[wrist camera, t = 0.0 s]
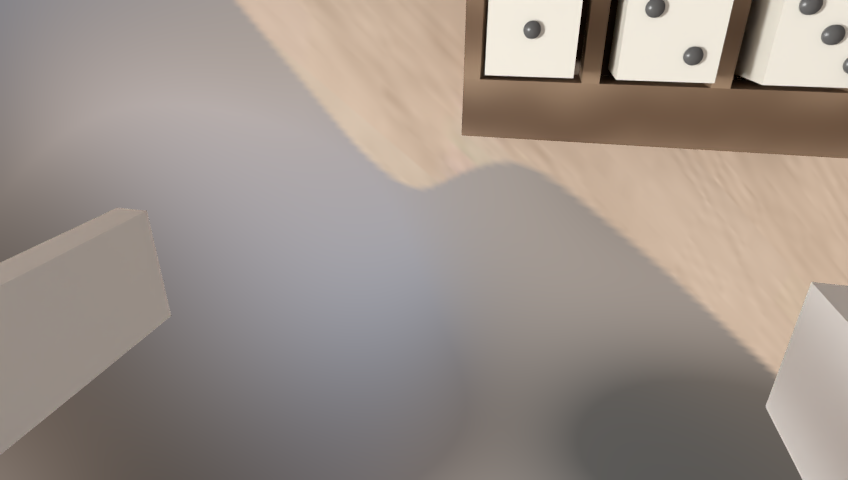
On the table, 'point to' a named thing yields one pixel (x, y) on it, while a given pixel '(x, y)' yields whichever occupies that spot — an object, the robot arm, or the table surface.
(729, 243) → the table surface
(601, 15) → the brown tile rack
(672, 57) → the tile
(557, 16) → the white cube with dot
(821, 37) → the three-pip tile
